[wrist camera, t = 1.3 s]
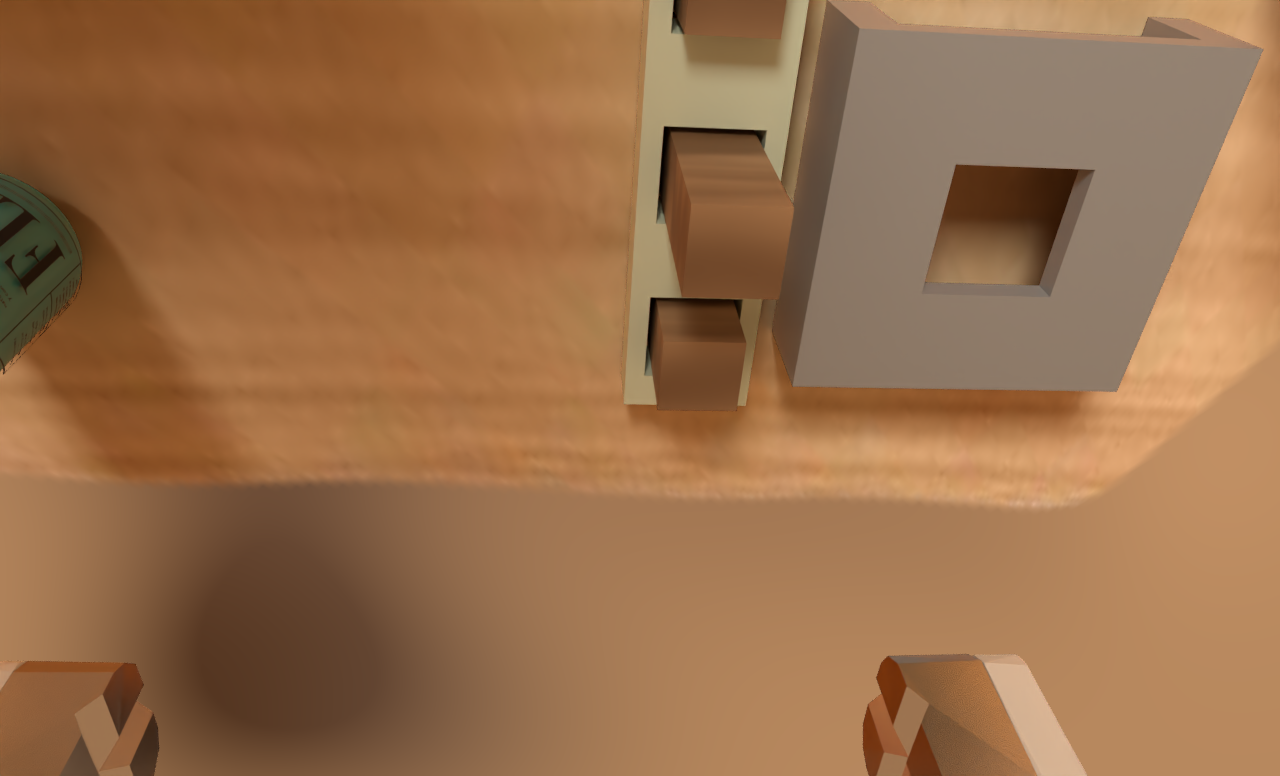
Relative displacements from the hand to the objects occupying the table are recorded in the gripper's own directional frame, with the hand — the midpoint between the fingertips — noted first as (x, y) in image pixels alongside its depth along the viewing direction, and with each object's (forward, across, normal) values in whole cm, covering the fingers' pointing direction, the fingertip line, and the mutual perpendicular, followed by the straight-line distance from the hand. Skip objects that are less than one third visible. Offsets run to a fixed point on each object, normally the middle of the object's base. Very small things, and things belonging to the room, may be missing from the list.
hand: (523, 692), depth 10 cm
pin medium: (+29, -6, +10) cm, 31 cm away
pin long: (+28, -6, +3) cm, 29 cm away
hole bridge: (+28, -17, +4) cm, 33 cm away
